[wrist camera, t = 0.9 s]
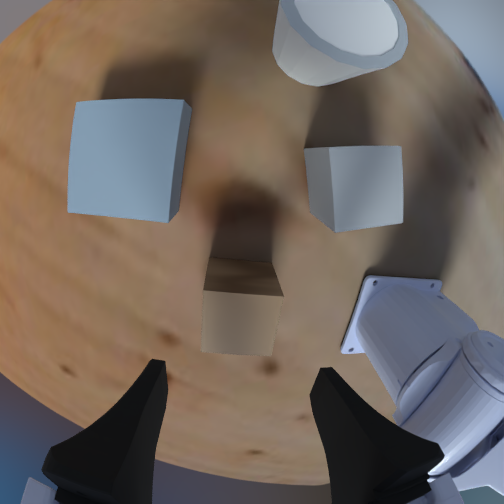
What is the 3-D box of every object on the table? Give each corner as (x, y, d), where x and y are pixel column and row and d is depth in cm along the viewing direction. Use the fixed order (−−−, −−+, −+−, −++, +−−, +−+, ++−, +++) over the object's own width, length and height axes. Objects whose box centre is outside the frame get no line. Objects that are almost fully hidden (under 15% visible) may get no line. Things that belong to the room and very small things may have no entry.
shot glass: (277, 3, 13) (297, -51, 6) (363, 37, 14) (413, 3, 7) (250, 76, 15) (262, 33, 8) (345, 109, 16) (400, 93, 10)
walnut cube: (271, 262, 20) (284, 296, 15) (262, 314, 21) (271, 355, 17) (209, 256, 19) (203, 290, 15) (205, 310, 21) (200, 351, 16)
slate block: (192, 109, 16) (183, 100, 13) (179, 210, 18) (168, 222, 15) (100, 108, 15) (76, 102, 12) (91, 201, 17) (67, 212, 14)
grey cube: (362, 145, 17) (400, 146, 13) (366, 205, 19) (402, 222, 14) (303, 148, 17) (328, 147, 12) (309, 212, 19) (334, 232, 14)
